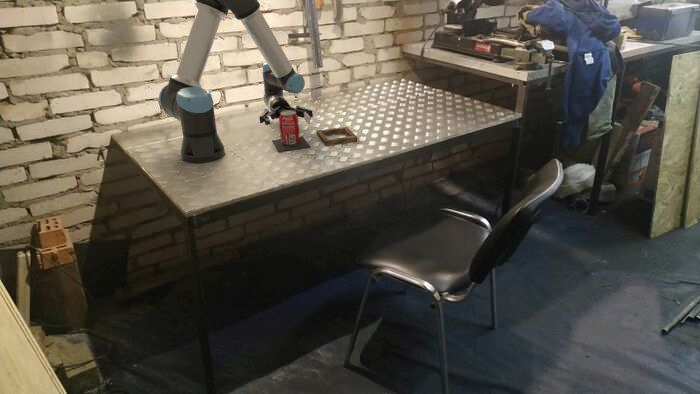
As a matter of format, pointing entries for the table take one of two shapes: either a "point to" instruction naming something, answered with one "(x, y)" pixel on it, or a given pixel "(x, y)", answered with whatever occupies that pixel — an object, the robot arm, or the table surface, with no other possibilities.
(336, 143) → the holder
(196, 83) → the robot arm
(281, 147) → the mat
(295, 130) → the soda can
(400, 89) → the table surface
